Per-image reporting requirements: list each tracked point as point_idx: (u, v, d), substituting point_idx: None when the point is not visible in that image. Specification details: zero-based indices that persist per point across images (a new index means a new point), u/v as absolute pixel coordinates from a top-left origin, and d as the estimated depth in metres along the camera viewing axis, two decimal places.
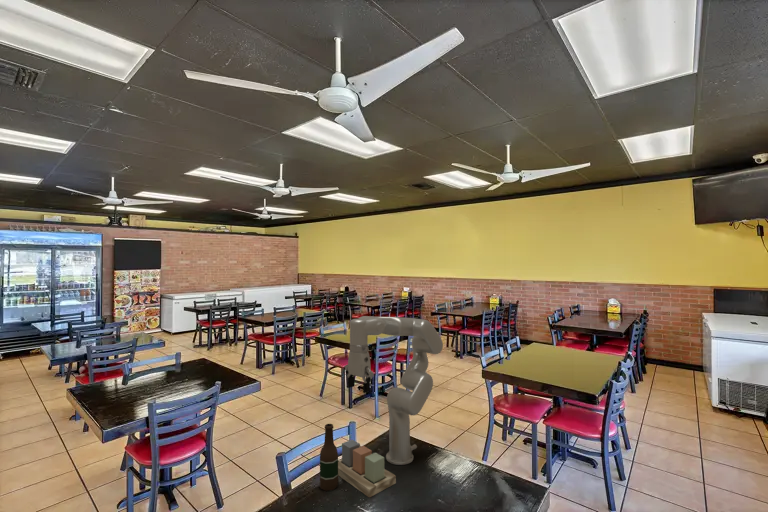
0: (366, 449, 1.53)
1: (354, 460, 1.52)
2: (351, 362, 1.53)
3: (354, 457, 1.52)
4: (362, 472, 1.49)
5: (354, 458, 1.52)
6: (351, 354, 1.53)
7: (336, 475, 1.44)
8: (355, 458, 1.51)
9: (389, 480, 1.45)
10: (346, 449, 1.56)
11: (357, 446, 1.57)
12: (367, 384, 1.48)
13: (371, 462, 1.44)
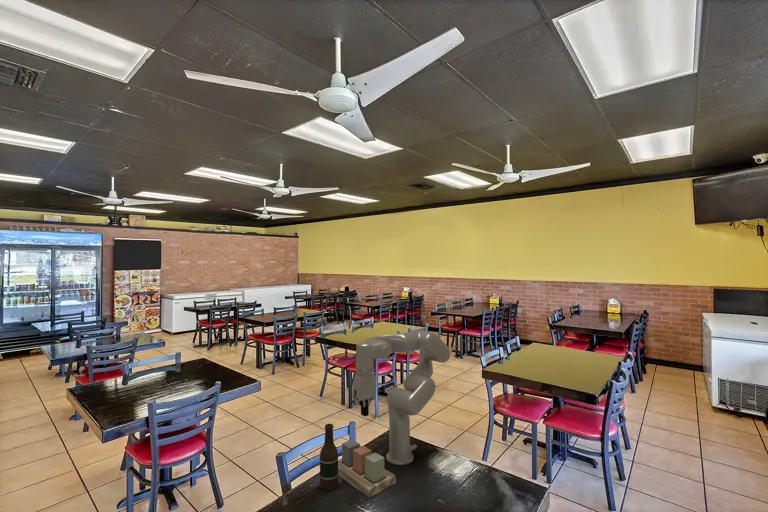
0: (366, 449, 1.53)
1: (354, 460, 1.52)
2: (365, 387, 1.52)
3: (354, 457, 1.52)
4: (362, 472, 1.49)
5: (354, 458, 1.52)
6: (365, 379, 1.52)
7: (336, 475, 1.44)
8: (355, 458, 1.51)
9: (389, 480, 1.45)
10: (346, 449, 1.56)
11: (357, 446, 1.57)
12: None
13: (371, 462, 1.44)
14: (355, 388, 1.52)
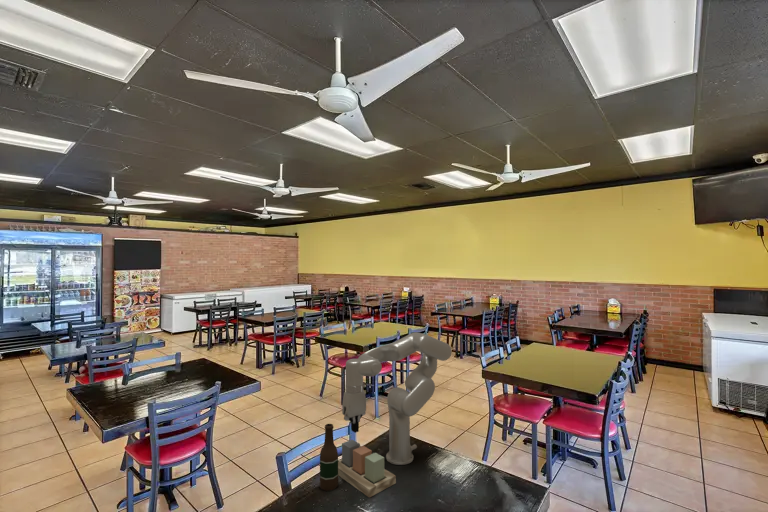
0: (366, 449, 1.53)
1: (354, 460, 1.52)
2: (354, 404, 1.54)
3: (354, 457, 1.52)
4: (362, 472, 1.49)
5: (354, 458, 1.52)
6: (354, 396, 1.55)
7: (336, 475, 1.44)
8: (355, 458, 1.51)
9: (389, 480, 1.45)
10: (346, 449, 1.56)
11: (357, 446, 1.57)
12: None
13: (371, 462, 1.44)
14: (344, 405, 1.54)
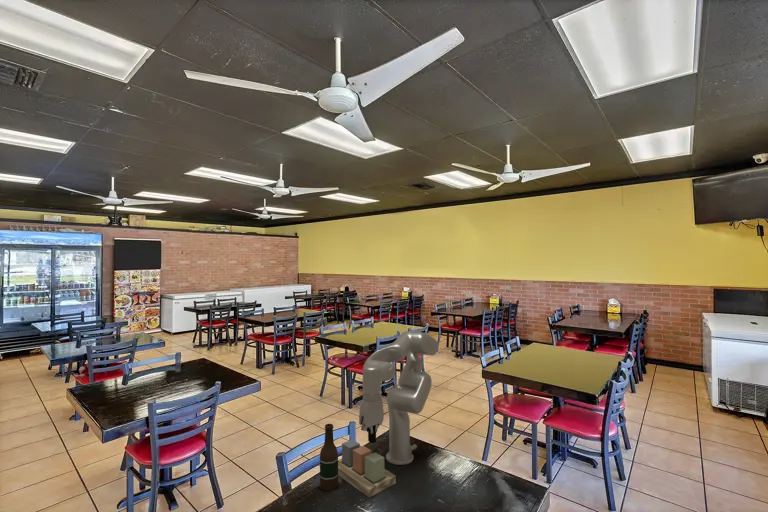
0: (366, 449, 1.53)
1: (354, 460, 1.52)
2: (372, 413, 1.45)
3: (354, 457, 1.52)
4: (362, 472, 1.49)
5: (354, 458, 1.52)
6: (372, 405, 1.46)
7: (336, 475, 1.44)
8: (355, 458, 1.51)
9: (389, 480, 1.45)
10: (346, 449, 1.56)
11: (357, 446, 1.57)
12: None
13: (371, 462, 1.44)
14: (362, 414, 1.45)
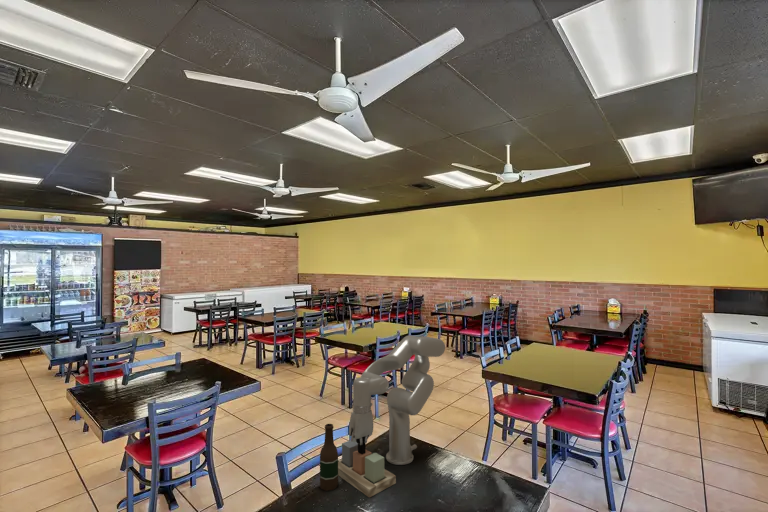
0: (366, 451, 1.53)
1: (354, 462, 1.52)
2: (361, 425, 1.50)
3: (354, 459, 1.52)
4: (362, 474, 1.49)
5: (354, 460, 1.52)
6: (362, 417, 1.50)
7: (336, 475, 1.44)
8: (355, 460, 1.51)
9: (389, 480, 1.45)
10: (346, 449, 1.56)
11: (357, 446, 1.57)
12: None
13: (371, 462, 1.44)
14: (352, 426, 1.50)
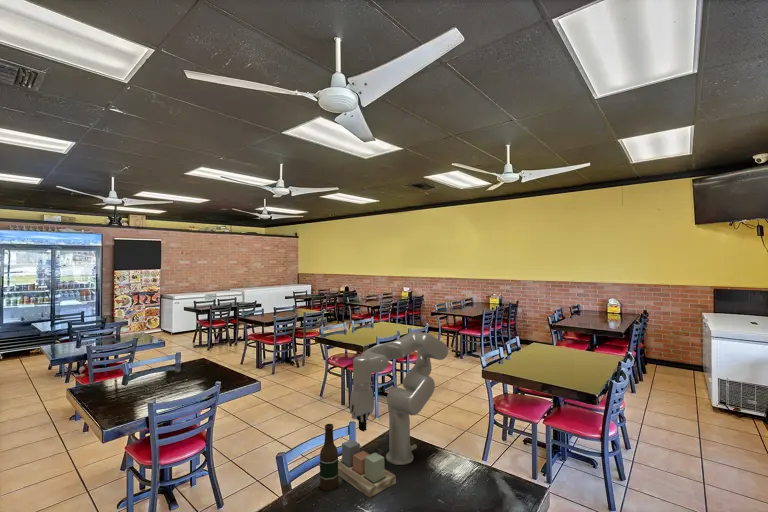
0: (366, 454, 1.53)
1: (354, 465, 1.52)
2: (362, 402, 1.51)
3: (354, 462, 1.52)
4: None
5: (354, 463, 1.52)
6: (362, 394, 1.51)
7: (336, 475, 1.44)
8: (356, 463, 1.51)
9: (389, 480, 1.45)
10: (346, 449, 1.56)
11: (357, 446, 1.57)
12: None
13: (371, 462, 1.44)
14: (352, 403, 1.50)
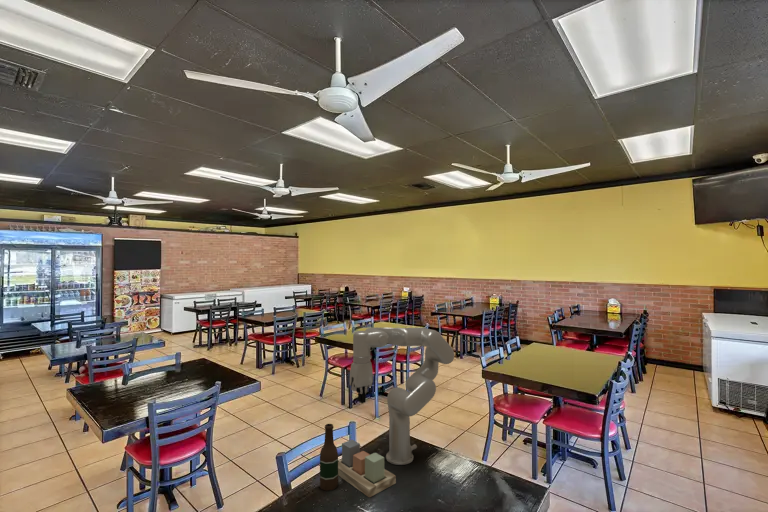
0: (366, 454, 1.53)
1: (354, 465, 1.52)
2: (361, 374, 1.56)
3: (354, 462, 1.52)
4: None
5: (354, 463, 1.52)
6: (362, 367, 1.56)
7: (336, 475, 1.44)
8: (356, 463, 1.51)
9: (389, 480, 1.45)
10: (346, 449, 1.56)
11: (357, 446, 1.57)
12: None
13: (371, 462, 1.44)
14: (352, 375, 1.56)
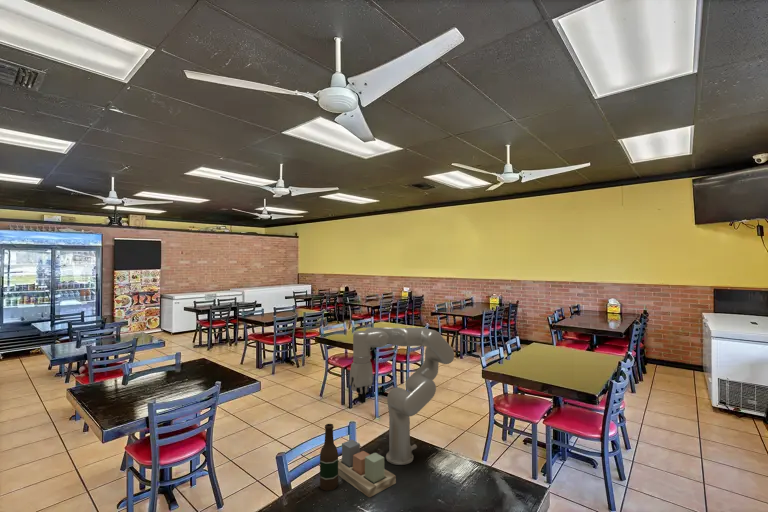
0: (366, 454, 1.53)
1: (354, 465, 1.52)
2: (361, 374, 1.56)
3: (354, 462, 1.52)
4: None
5: (354, 463, 1.52)
6: (362, 367, 1.56)
7: (336, 475, 1.44)
8: (356, 463, 1.51)
9: (389, 480, 1.45)
10: (346, 449, 1.56)
11: (357, 446, 1.57)
12: None
13: (371, 462, 1.44)
14: (352, 375, 1.56)
